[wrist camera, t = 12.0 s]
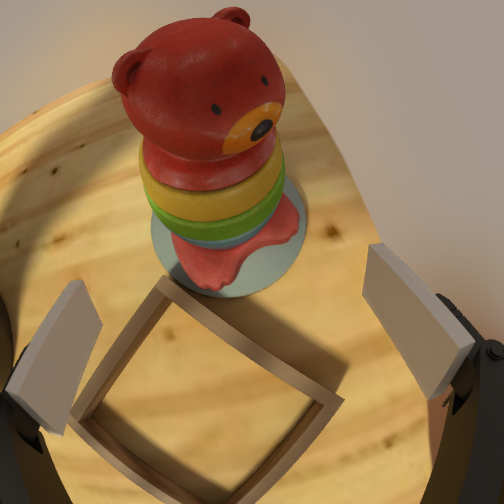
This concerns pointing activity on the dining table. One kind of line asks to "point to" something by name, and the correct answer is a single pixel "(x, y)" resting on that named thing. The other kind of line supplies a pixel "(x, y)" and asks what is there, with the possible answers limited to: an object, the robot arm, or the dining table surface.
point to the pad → (253, 268)
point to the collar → (167, 292)
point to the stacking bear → (210, 141)
